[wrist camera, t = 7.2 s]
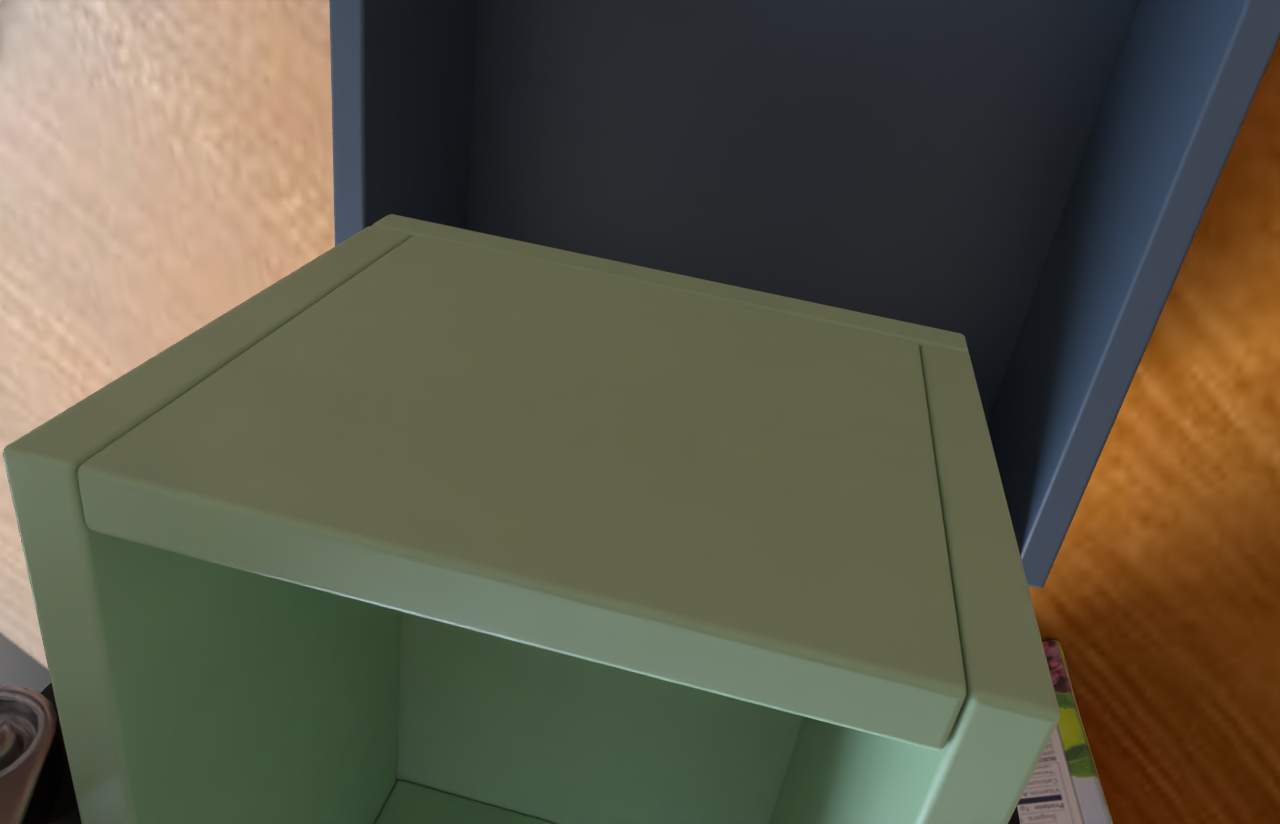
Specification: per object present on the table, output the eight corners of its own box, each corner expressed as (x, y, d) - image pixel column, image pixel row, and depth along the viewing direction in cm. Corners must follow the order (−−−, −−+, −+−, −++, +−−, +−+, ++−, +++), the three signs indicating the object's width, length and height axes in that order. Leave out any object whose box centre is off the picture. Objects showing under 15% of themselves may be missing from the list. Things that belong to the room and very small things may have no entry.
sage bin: (380, 765, 15) (152, 1164, 10) (389, 211, 11) (-4, 448, 6) (781, 878, 14) (741, 1365, 9) (965, 333, 10) (1065, 717, 5)
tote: (447, 323, 27) (337, 428, 22) (467, -199, 21) (321, -246, 16) (1002, 441, 26) (1043, 590, 20) (1200, -94, 19) (1342, -104, 14)
